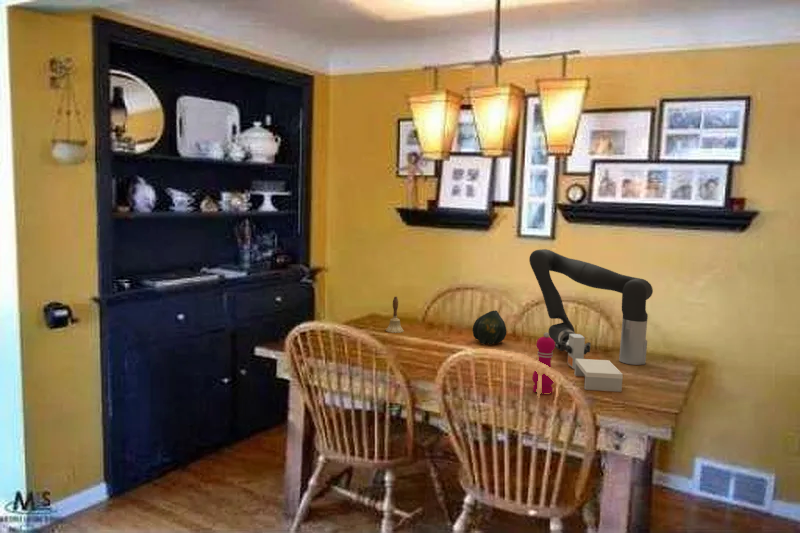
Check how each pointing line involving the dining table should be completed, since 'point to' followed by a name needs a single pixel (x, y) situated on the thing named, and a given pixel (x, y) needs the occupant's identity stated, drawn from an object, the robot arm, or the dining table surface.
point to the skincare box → (576, 348)
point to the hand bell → (395, 320)
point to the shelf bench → (599, 374)
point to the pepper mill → (544, 361)
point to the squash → (489, 328)
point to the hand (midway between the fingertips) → (577, 351)
